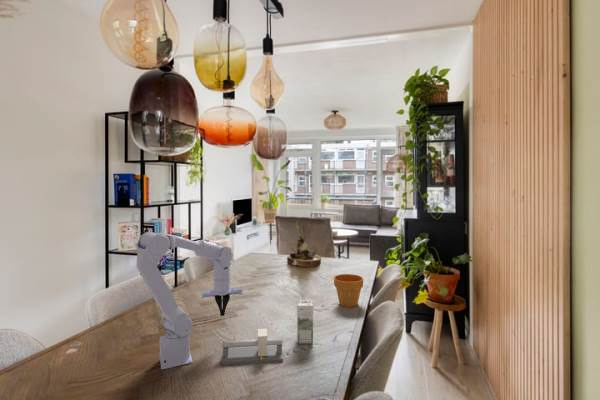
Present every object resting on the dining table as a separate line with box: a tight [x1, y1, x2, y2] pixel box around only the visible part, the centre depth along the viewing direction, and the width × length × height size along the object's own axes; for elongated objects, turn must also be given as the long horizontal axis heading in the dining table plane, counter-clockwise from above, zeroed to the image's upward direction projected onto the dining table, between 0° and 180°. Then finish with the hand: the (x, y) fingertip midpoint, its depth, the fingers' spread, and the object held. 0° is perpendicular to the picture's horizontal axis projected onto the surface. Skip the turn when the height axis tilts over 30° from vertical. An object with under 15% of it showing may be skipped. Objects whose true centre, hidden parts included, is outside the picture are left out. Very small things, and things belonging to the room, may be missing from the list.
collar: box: [257, 327, 268, 356], centre depth 112 cm, size 3×6×7 cm, turn 6°
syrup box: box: [296, 300, 314, 345], centre depth 123 cm, size 6×6×14 cm
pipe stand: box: [220, 338, 284, 366], centre depth 112 cm, size 20×9×6 cm, turn 96°
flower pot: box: [333, 273, 364, 308], centre depth 161 cm, size 14×14×13 cm
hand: (222, 314), depth 121 cm, fingers closed
